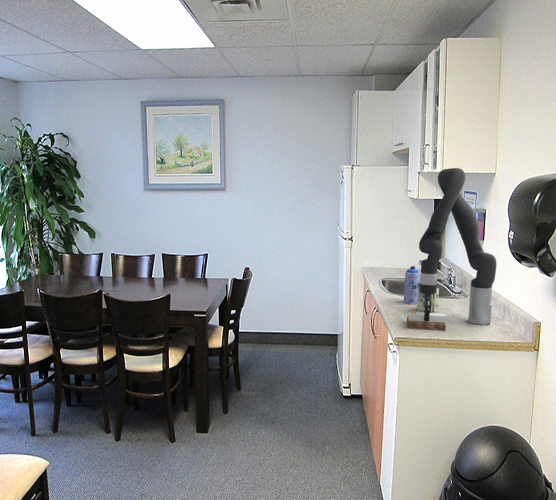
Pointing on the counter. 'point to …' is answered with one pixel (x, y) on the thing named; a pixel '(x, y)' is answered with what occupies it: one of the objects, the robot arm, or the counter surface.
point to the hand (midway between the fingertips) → (426, 319)
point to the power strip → (432, 318)
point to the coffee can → (434, 301)
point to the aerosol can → (411, 286)
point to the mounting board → (426, 325)
